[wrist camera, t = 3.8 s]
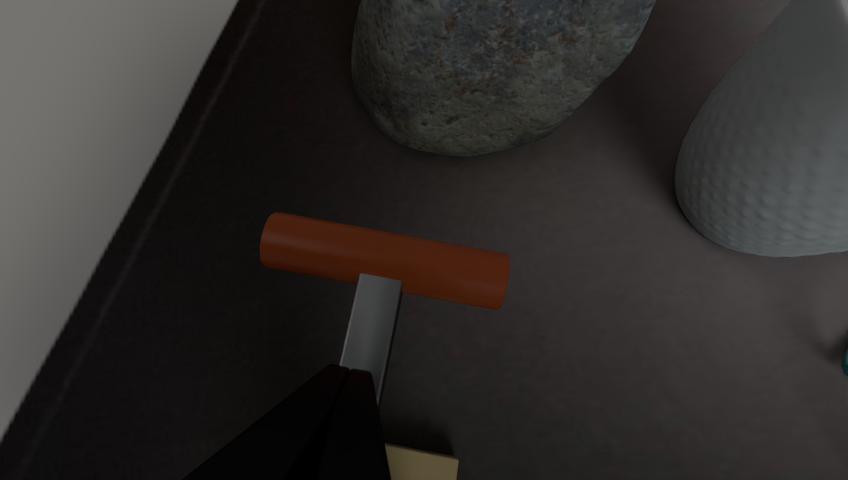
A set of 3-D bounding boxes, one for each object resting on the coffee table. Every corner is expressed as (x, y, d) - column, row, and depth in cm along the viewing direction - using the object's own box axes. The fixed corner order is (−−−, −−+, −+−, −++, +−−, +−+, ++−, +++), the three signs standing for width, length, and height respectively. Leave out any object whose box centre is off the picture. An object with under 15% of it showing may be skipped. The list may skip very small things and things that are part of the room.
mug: (748, 76, 30) (976, -147, 18) (886, 188, 27) (1271, 10, 15) (602, 182, 27) (770, -11, 14) (745, 326, 24) (1109, 234, 11)
